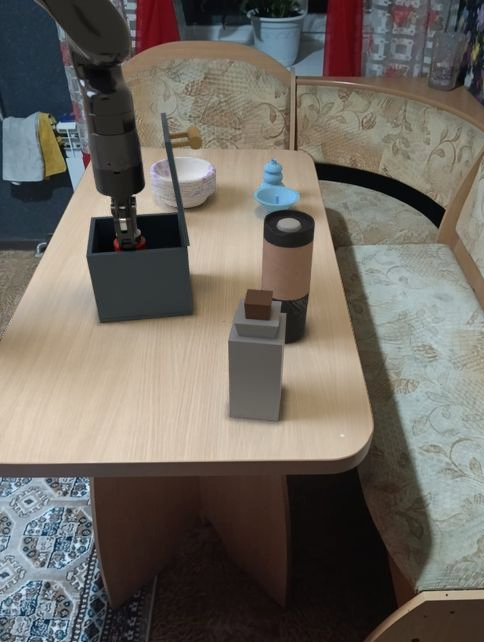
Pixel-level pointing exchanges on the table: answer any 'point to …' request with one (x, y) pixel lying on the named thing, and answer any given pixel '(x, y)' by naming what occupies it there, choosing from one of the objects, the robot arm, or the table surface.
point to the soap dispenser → (275, 189)
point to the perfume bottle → (256, 357)
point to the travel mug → (288, 265)
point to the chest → (140, 270)
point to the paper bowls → (184, 180)
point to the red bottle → (139, 239)
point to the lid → (195, 144)
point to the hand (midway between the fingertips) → (131, 257)
